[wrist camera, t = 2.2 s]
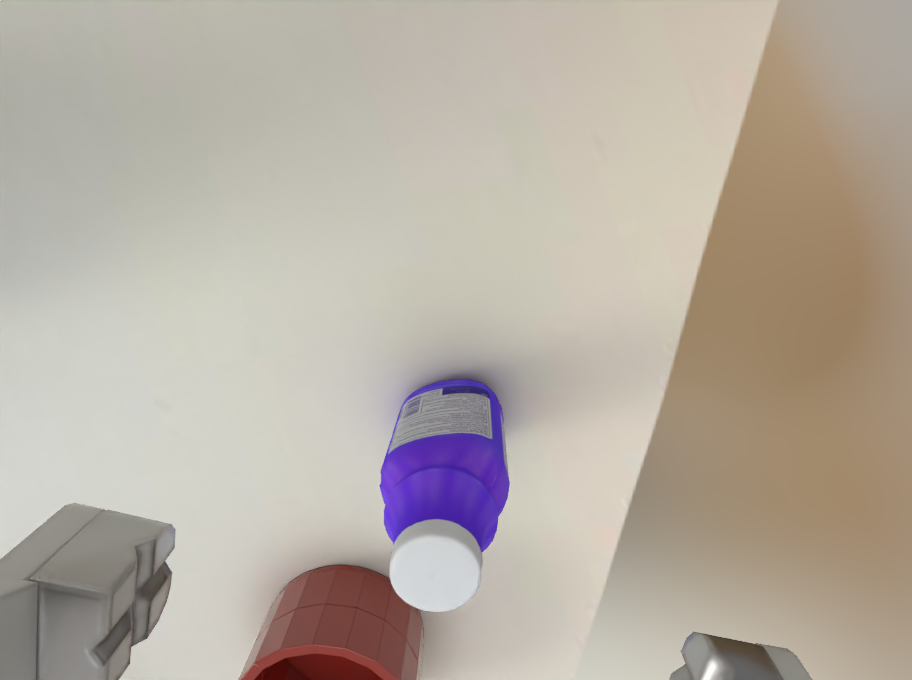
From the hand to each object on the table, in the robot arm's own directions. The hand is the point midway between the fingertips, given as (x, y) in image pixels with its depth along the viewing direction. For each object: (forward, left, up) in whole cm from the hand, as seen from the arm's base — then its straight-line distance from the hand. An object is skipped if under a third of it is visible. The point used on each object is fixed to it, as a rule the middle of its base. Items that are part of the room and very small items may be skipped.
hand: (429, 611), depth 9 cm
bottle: (+10, -4, -31) cm, 33 cm away
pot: (+26, -18, -31) cm, 44 cm away
